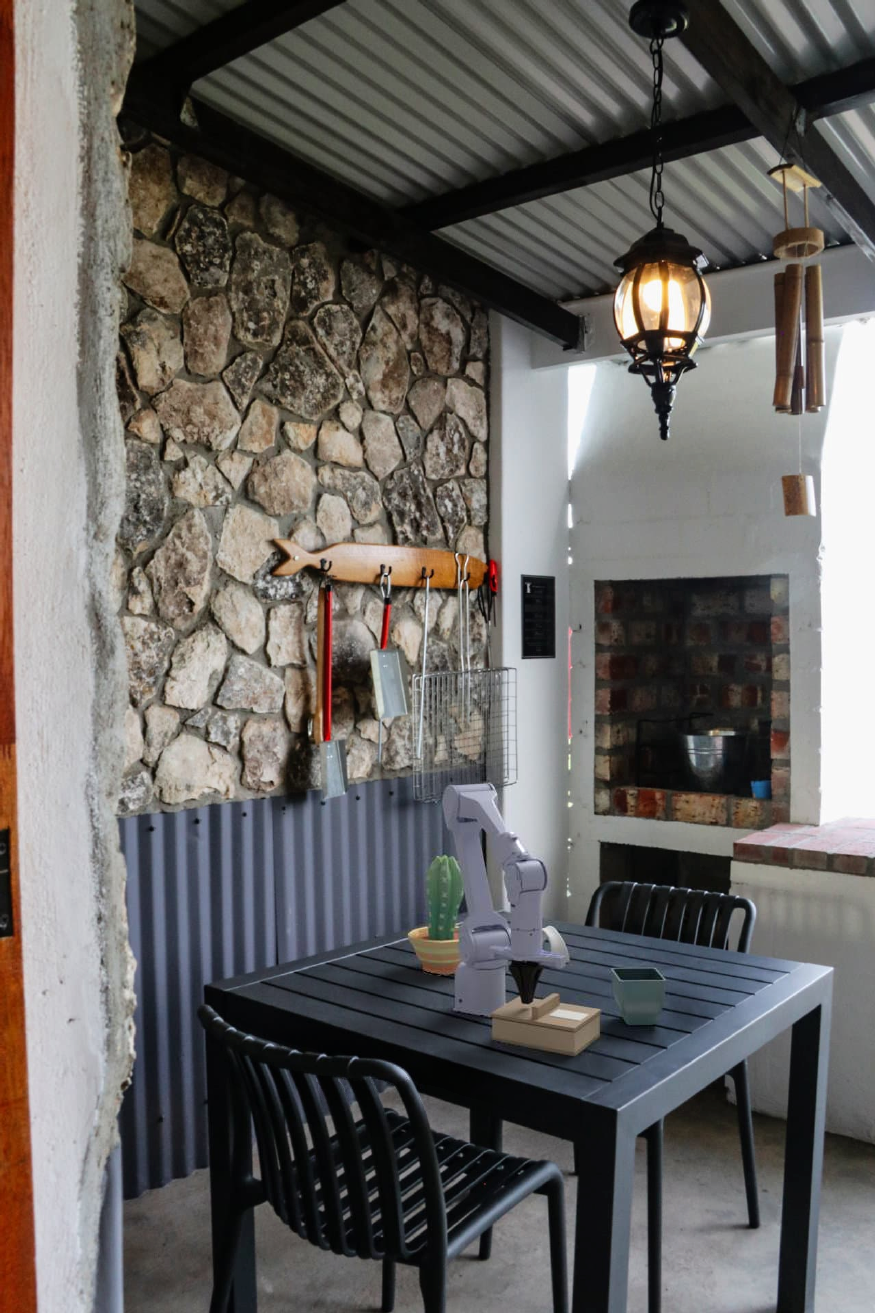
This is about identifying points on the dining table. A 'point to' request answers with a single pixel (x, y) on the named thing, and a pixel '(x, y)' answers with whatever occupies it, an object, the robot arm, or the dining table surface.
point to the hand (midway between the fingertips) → (527, 1002)
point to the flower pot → (638, 994)
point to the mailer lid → (547, 1013)
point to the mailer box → (546, 1036)
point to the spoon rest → (554, 941)
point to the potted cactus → (440, 918)
